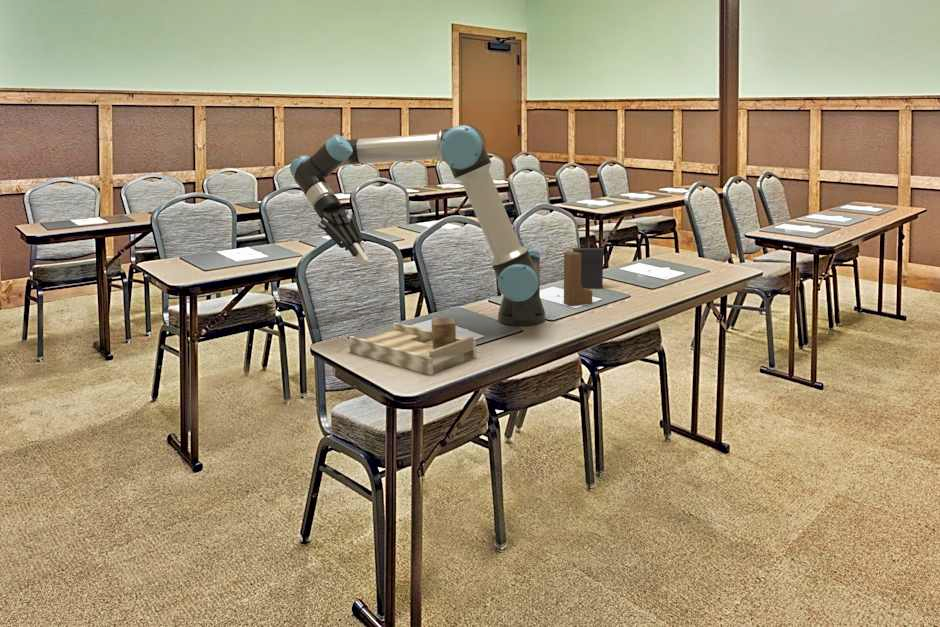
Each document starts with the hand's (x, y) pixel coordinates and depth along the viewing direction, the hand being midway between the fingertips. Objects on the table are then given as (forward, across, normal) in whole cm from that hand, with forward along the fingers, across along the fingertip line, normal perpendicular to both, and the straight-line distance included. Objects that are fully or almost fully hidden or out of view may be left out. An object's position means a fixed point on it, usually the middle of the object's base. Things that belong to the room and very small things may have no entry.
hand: (365, 263), depth 220 cm
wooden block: (+34, -75, 0) cm, 82 cm away
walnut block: (+34, -3, +4) cm, 35 cm away
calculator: (+27, -96, -8) cm, 100 cm away
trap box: (+30, 0, -4) cm, 30 cm away
